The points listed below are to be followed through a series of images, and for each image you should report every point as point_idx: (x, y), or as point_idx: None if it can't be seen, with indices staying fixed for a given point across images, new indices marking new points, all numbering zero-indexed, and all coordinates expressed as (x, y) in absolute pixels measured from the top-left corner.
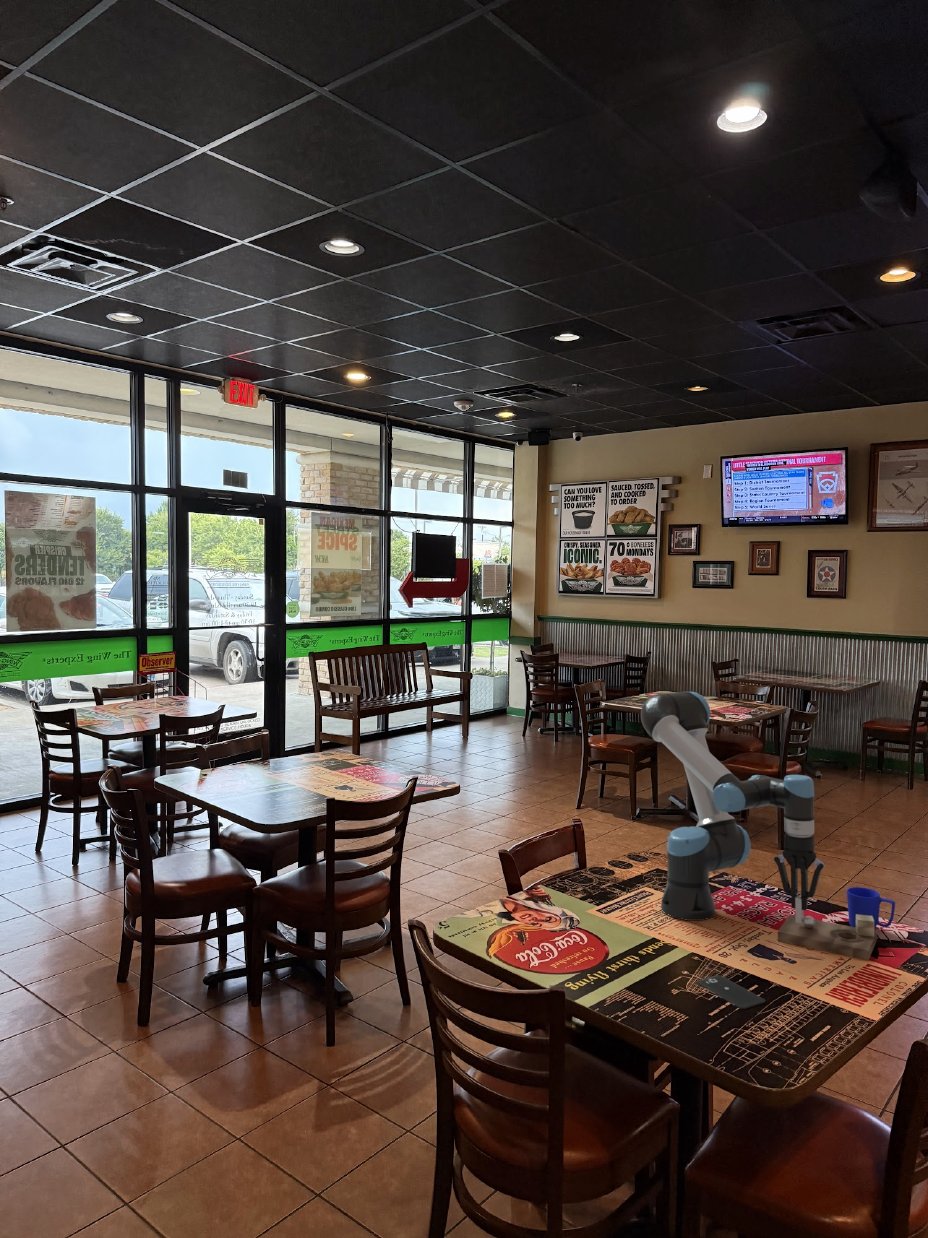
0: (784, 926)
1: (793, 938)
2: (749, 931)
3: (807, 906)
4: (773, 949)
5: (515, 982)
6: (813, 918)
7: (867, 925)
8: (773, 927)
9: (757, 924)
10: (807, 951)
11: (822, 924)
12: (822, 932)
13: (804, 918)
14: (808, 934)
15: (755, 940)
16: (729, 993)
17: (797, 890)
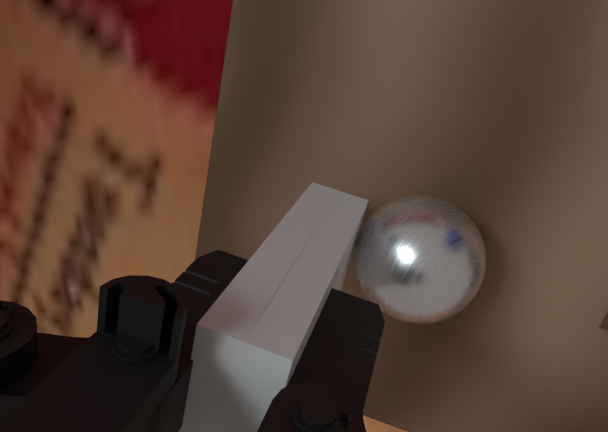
0: (218, 243)
1: None
2: (33, 188)
3: (382, 331)
4: None
5: None
6: (463, 292)
7: None
8: (160, 59)
9: (47, 32)
10: (390, 425)
11: (589, 101)
12: (537, 310)
13: (365, 287)
14: (401, 368)
15: (94, 317)
16: None
17: (145, 411)
